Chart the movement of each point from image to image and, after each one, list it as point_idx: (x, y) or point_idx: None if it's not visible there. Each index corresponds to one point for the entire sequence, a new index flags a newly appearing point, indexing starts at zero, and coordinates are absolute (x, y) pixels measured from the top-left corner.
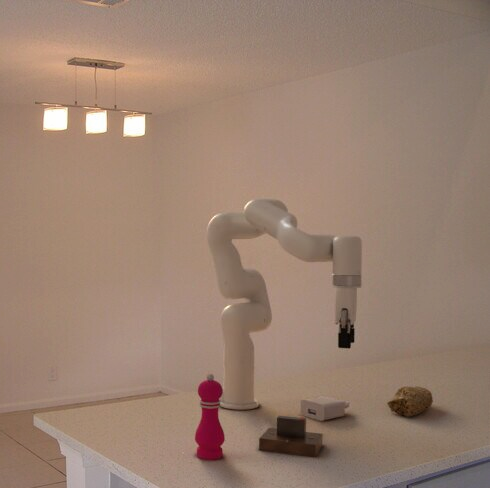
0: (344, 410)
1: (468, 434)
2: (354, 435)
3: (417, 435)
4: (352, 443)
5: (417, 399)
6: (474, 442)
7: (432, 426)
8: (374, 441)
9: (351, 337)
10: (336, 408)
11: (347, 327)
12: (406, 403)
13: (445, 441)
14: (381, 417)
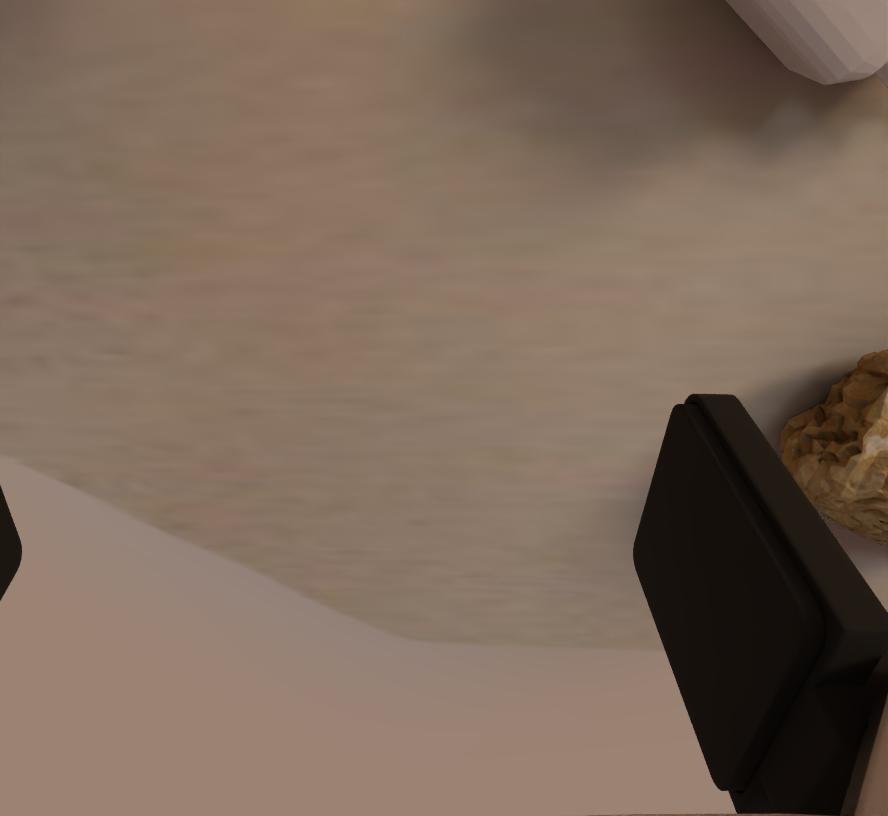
0: (800, 73)
1: (539, 608)
2: (347, 157)
3: (463, 452)
4: (167, 154)
5: (852, 514)
6: (429, 619)
7: (637, 505)
8: (270, 272)
9: (667, 599)
10: (756, 15)
11: (802, 738)
12: (814, 458)
13: (405, 542)
14: (788, 293)
